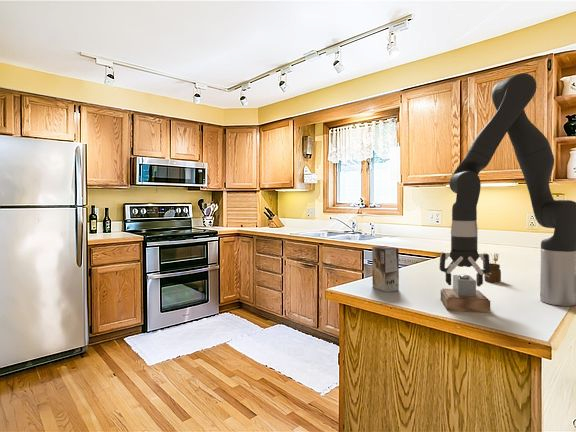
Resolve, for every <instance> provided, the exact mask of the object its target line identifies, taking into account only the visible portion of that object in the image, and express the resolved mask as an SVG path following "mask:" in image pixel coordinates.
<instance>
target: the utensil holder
mask: <svg viewBox="0 0 576 432" xmlns="http://www.w3.org/2000/svg"><path fill="white" fill-rule="evenodd" d="M488 255H489V256H490V255H491V256H493V258H492V259H491V261H492V263H491V261H489V264H490V272H489V273H485V274H483V280H484V281H485V282H487V283H494V284H499V283H500V282H501V281H502V271H501V269H500V268H501V265H500V263H499V264H498V263H497V261H498V260H499V254H498V253H494V254H492V253H489V254H488Z"/></svg>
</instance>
